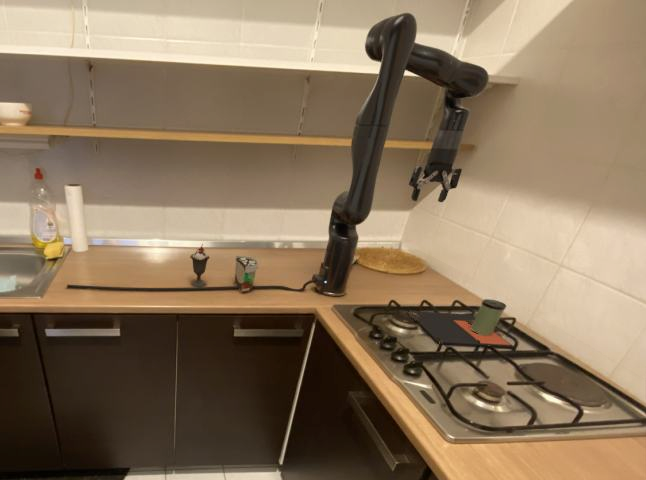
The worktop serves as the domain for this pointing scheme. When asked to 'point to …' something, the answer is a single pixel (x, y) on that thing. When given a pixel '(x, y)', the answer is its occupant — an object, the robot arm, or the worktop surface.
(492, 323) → the tea tin
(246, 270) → the food container
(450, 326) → the corner mat
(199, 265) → the sundae
